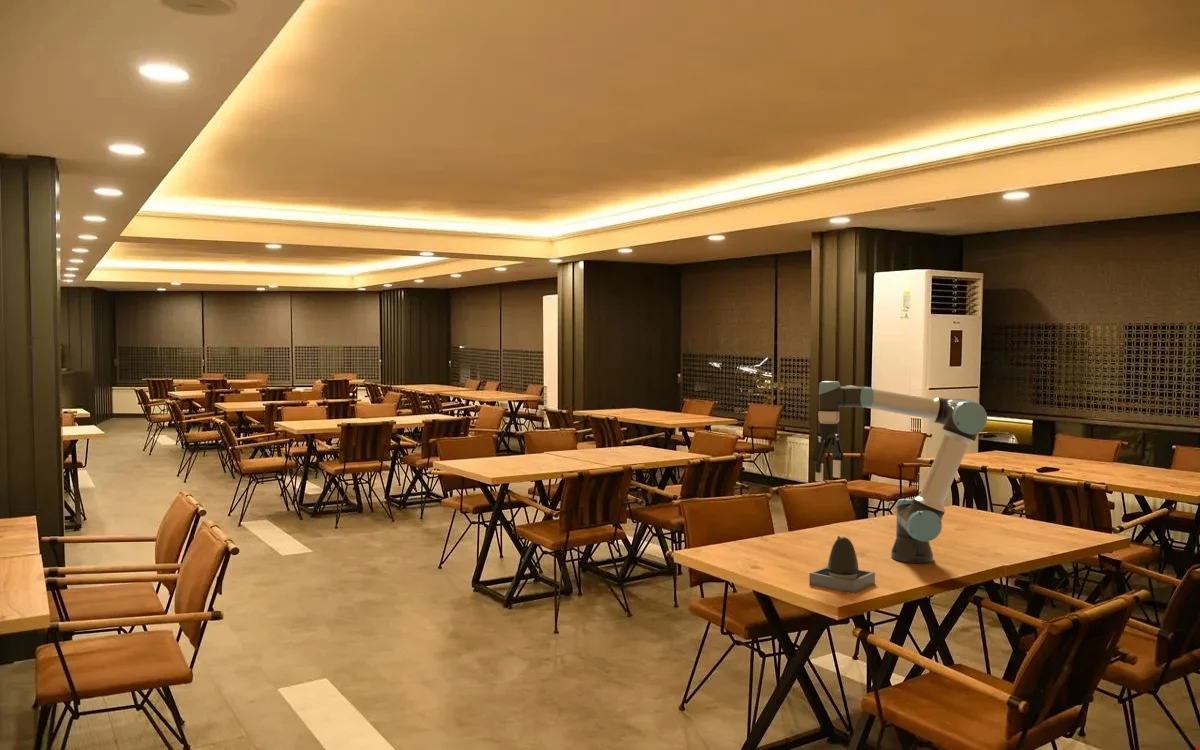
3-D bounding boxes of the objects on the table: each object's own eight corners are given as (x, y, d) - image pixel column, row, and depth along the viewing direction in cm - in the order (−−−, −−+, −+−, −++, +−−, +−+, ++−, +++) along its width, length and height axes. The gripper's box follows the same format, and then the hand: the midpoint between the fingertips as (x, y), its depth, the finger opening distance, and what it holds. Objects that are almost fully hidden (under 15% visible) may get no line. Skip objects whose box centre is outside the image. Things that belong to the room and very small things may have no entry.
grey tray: (831, 575, 301) (831, 564, 301) (874, 584, 290) (874, 572, 290) (809, 584, 289) (809, 572, 289) (853, 593, 278) (853, 581, 278)
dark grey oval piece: (852, 577, 295) (853, 533, 295) (862, 585, 285) (863, 540, 284) (823, 577, 295) (823, 533, 294) (832, 585, 284) (833, 540, 284)
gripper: (835, 420, 328) (834, 474, 328) (803, 423, 309) (802, 482, 310) (853, 421, 323) (852, 476, 323) (821, 425, 304) (821, 484, 305)
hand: (828, 479), depth 316 cm, fingers open, 13 cm apart
